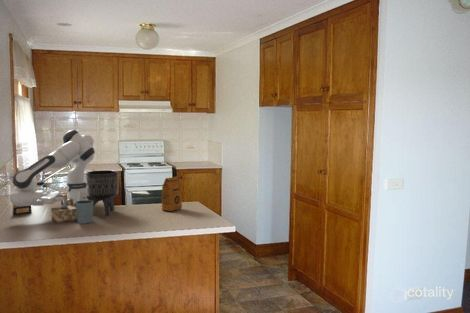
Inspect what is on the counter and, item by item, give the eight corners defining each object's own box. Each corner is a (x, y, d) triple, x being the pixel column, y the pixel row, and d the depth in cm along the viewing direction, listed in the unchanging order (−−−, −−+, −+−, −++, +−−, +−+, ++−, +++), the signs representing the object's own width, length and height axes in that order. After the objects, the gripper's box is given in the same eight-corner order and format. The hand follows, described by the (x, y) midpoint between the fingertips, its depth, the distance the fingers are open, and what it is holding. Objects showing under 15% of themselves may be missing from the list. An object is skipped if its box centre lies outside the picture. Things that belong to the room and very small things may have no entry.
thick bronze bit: (71, 213, 271) (71, 198, 270) (75, 215, 267) (74, 199, 266) (62, 215, 267) (62, 199, 266) (66, 216, 263) (65, 200, 262)
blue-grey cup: (83, 224, 244) (82, 203, 243) (72, 222, 249) (71, 202, 248) (97, 221, 252) (97, 201, 251) (86, 218, 258) (85, 199, 256)
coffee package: (184, 209, 285) (183, 176, 283) (170, 212, 275) (170, 178, 273) (173, 207, 291) (173, 175, 289) (159, 210, 281) (159, 177, 279)
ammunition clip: (13, 215, 265) (12, 196, 264) (12, 215, 267) (11, 196, 265) (31, 213, 272) (31, 194, 271) (30, 212, 273) (30, 194, 272)
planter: (102, 209, 285) (101, 169, 283) (125, 211, 277) (125, 171, 274) (80, 214, 268) (79, 173, 265) (104, 218, 259) (103, 175, 257)
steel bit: (66, 217, 257) (65, 194, 256) (68, 218, 255) (68, 194, 253) (60, 217, 255) (59, 194, 254) (62, 219, 252) (62, 195, 251)
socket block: (69, 216, 263) (69, 205, 262) (77, 219, 255) (77, 208, 254) (51, 219, 255) (51, 208, 254) (58, 222, 247) (58, 211, 246)
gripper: (35, 196, 241) (61, 195, 243) (44, 189, 261) (68, 189, 263) (35, 207, 241) (61, 206, 244) (45, 200, 261) (69, 199, 264)
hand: (65, 197), depth 254 cm, fingers open, 8 cm apart
